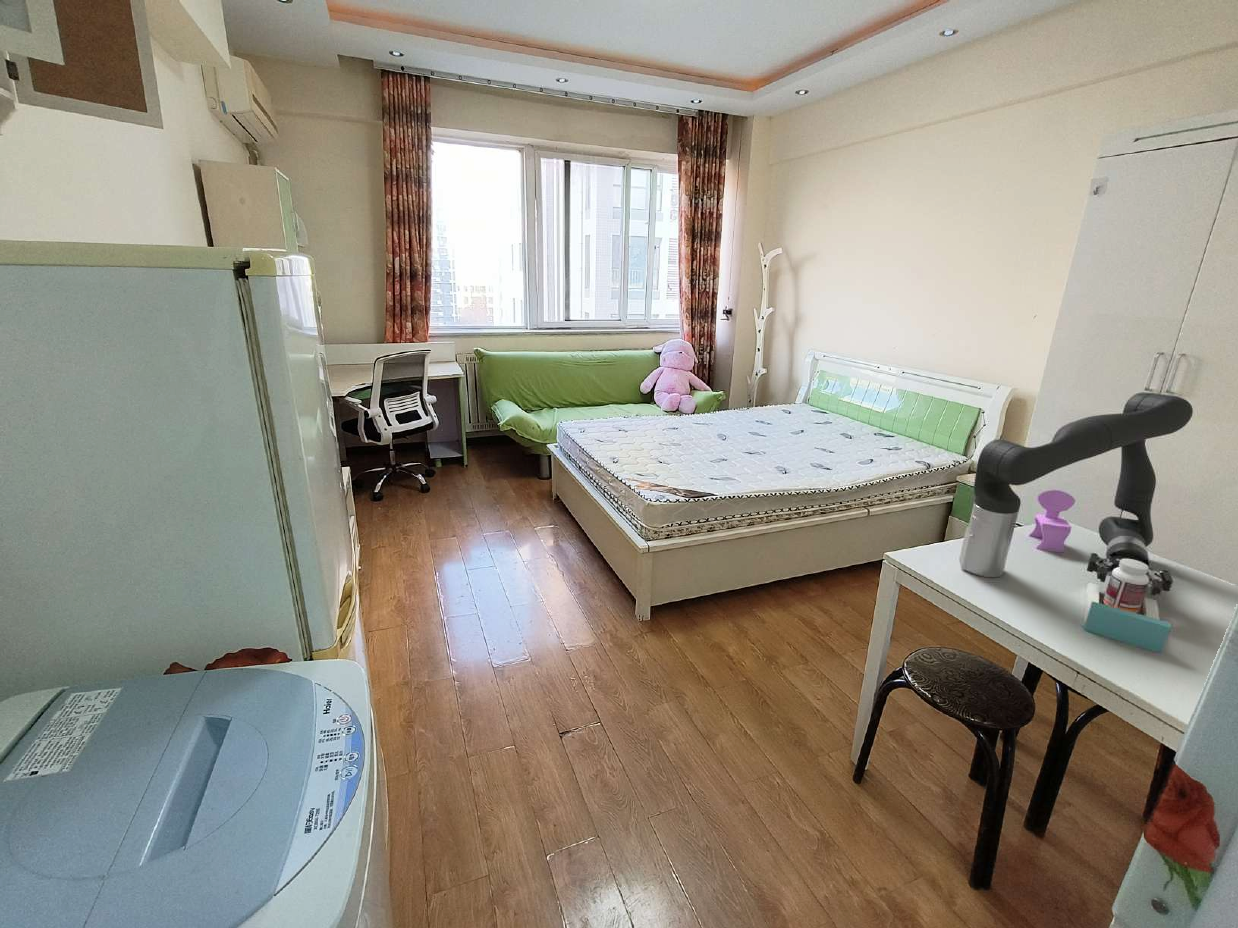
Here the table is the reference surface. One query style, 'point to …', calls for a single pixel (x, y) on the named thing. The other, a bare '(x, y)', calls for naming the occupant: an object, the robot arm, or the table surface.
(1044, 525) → the toy chair
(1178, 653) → the table surface
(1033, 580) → the table surface
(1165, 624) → the guide
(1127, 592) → the pill bottle
